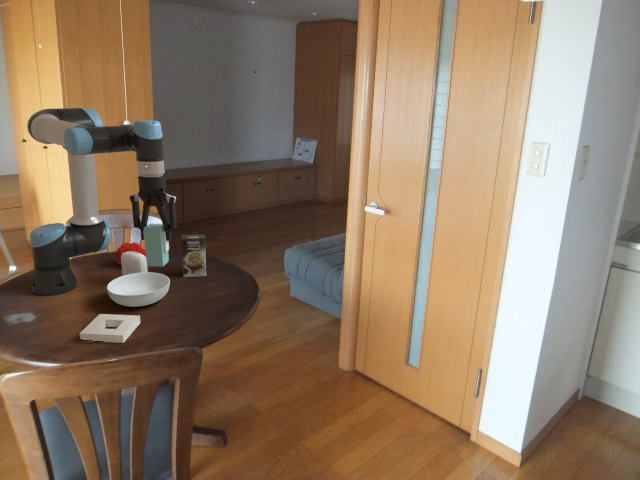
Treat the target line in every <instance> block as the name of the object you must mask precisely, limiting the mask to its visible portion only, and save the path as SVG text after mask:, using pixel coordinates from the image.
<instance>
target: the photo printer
mask: <svg viewBox="0 0 640 480" xmlns="http://www.w3.org/2000/svg"><path fill="white" fill-rule="evenodd" d="M120 266H121V274H122V275H121V276H124V275H128V274H133V273H142V272H149V271H148V266H147V260H146V257H145V256H144V255H142V254H140V253H137V252H132V251H129V252H125V253H122V255H121V265H120Z"/></svg>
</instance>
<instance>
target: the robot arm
mask: <svg viewBox="0 0 640 480" xmlns="http://www.w3.org/2000/svg"><path fill="white" fill-rule="evenodd" d="M26 124H27V125H26V127H27V132H28V134H29V135H30V137H31V138H32V139H33V140H35V141H36V142H38V143H41V144H44V145H53V144H54V145H58V146H61V147H62V149H64V150H65V151H66V152H67V155H68V156H67V157H68V164H69V167H68V168H69V175H70V177H69V178H70V190H71V200H72V211H73V216H71V217H70V218H69V225H67V226H66V225H65V224H64V223H61V222H55V223H48V224H43V225H41V226H38V227H35V228H34V229H33V230H32V231H31V232H30V234H29V241H30V242H29V245H30V248H31V256H32V261H33V268H34V273H33V277H32V279H31V280H32V281H31V290H32V293H33V292H35V293H38V294H47V295H46V296H54V294H56V295H61V294H65V293H68V292H71V291H72V290H75V289H76V288H77V287H78V286H79V280H78V277H77V275H76V273H75V271H74V269H73V268H72V266H71V260H70V258H74V257H79V256H84V255H88V254H93V253H94V254H96V253H98V252H100V251H104V250H106V249H107V248H108V247H109V246H110V244H111V240H112V239H111V238H112V232H111V229H110V224H109V222H107V221H106V220H104V217H103V216H102V215H101V214H100V213H99V199H98V198H99V196H98V195H99V194H98V184H97V183H98V182H97V169H96V166H97V165H96V156H95V155H97V154H109V153H125V152H135V157H136V170H137V174H138V176H137V183H138V189H139V190H138V193H137V194H136V193H134V194H131V195H130V196H129V201H130V203H131V210H132V222H133V223H132V224H133V228H134V229H138V230H139V231H140V238H141V240H142V241H144V242H143V243H144V244H143V245H145V236H144V227H146V226H147V225H148V222H149V216H150V211H151V207H155V208H156V210H157V211H158V214H159V218H160V221H161V224H163V227H164V231H162V236H163V250H164V252H167V251H168V252H169V250H170V244H169V242H170V241H171V240H172V230H174V229H175V228H177V227H178V224H177V223H178V222H177V211H176V210H177V209H176V202H177V199H178V197H177V195H170V194H168V191H167V189H166V187H167V186H166V176H165V175H164V174H165V172H166V171H165V160H164V143H163V142H164V141H163V135H164V134H163V132H162V131H163V130H162V124H161V122H160V121H158V120H155V119H154V120H151V119H142V120H141V119H140V120H135V121H134V122H133V125H132V124H130V123H129V124H128V123H127V124H119V125H110V126H107V125H106V126H105V125H104V123H103V121H102V118H101V116H100V115H99V113H98V112H97V111H96V110H94V109H93V108H84V107H69V108H68V107H67V108H44V109H41V110H39V111H36V112H35V113H32V115H31V116H30V117H29V118H28V121H27V123H26ZM140 200H141V202H143V203H142V213H141V211H140V209H141V208H140ZM166 200H167V203H168V213H167V210H166V205H165V201H166ZM168 214H169V215H168ZM144 251H145V252H146V248H145V247H144ZM35 293H34V294H35ZM38 294H37V295H38Z"/></svg>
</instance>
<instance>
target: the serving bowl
mask: <svg viewBox="0 0 640 480" xmlns="http://www.w3.org/2000/svg"><path fill="white" fill-rule="evenodd" d="M106 285H107V286H106V292H107V294H108V296H109V298H110V299H111V300H112V301H113V303H116V304H118V305H121V306H123V307H134V308H135V307H145V306H148V305H151V304H154V303H157V302H159V301H160V300H161V299H163V298H164V297H165V296H166V295H167V294H168V292H169V289H170V285H171V280H170V278H169V277H168V276H167V275H165V274H163V273H159V272H152V271H151V272H150V271H148V272H142V273H133V274H128V275H124V276H122V275H121V276H119V277H116V278H114V279H113V280H111V281H110V282H108V284H106Z"/></svg>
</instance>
